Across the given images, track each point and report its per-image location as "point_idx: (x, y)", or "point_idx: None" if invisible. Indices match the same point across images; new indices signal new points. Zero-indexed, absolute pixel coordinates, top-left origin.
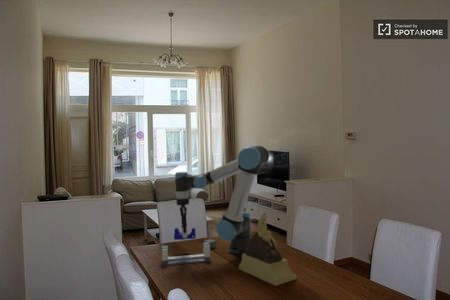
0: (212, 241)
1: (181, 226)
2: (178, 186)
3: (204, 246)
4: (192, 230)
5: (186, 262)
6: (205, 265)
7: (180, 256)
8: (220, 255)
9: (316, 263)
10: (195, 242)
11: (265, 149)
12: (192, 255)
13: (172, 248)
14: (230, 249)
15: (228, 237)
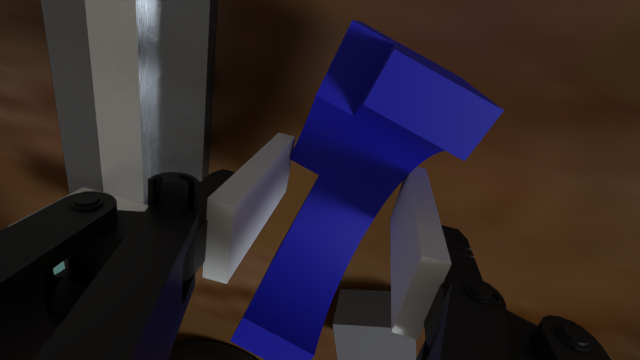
0: (346, 354)
1: (151, 185)
2: None
3: (10, 225)
4: (250, 303)
5: (51, 44)
6: (21, 148)
7: (129, 22)
8: None
9: None
10: (580, 283)
11: None
12: (134, 124)
13: (543, 34)
14: (190, 356)
15: None
